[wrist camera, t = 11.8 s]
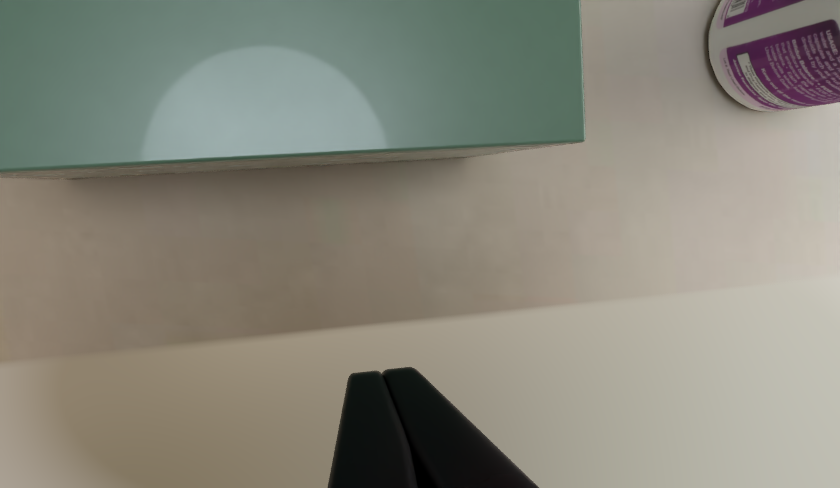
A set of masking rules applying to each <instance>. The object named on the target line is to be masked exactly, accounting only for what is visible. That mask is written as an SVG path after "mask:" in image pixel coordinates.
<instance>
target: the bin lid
mask: <svg viewBox="0 0 840 488" xmlns="http://www.w3.org/2000/svg"><path fill="white" fill-rule="evenodd" d="M585 139H586V136H585V109H584V82H583V56H582V29H581V2H580V0H0V174H2V173H22V172H41V171H60V170H79V169H98V168H117V167H136V166H155V165H175V164H194V163H213V162H232V161H251V160H270V159H289V158H308V157H327V156H347V155H366V154H385V153H404V152H423V151H442V150H461V149H480V148H499V147H519V146H538V145H557V144H573V143H580V142H584V141H585Z"/></svg>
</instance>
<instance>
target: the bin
mask: <svg viewBox="0 0 840 488" xmlns="http://www.w3.org/2000/svg"><path fill="white" fill-rule="evenodd" d="M557 145H565V144H557ZM557 145H538V146H519V147H499V148H480V149H461V150H442V151H423V152H404V153H385V154H366V155H347V156H327V157H308V158H289V159H270V160H251V161H232V162H213V163H194V164H175V165H155V166H136V167H117V168H98V169H79V170H60V171H41V172H22V173H2V174H0V177H1V178H39V179H81V178H99V177H117V176H136V175H154V174H172V173H190V172H209V171H227V170H245V169H263V168H282V167H300V166H318V165H337V164H355V163H373V162H391V161H410V160H428V159H446V158H464V157H474V156H482V155H489V154H497V153H504V152H512V151H519V150H527V149H535V148H542V147H550V146H557Z"/></svg>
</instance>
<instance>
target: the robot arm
mask: <svg viewBox="0 0 840 488" xmlns="http://www.w3.org/2000/svg"><path fill="white" fill-rule="evenodd" d="M328 488H539V487H538V486H537V485H536V484H535V483H533V481H532V480H530V479H529V478H528V477H527V476H526V475H525V474H524V473H523V472H522V471H521V470H520V469H519V468H518V467H517V466H516V465H515V464H514V463H513V462H512V461H511V460H510V459H509V458H508V457H507V456H506V455H504V454H503V453H502V452H501V451H500V450H499V449H498V448H497V447H496V446H495V445H494V444H493V443H492V442H491V441H490V440H489V439H488V438H487V437H486V436H485V435H484V434H483V433H482V432H481V431H480V430H479V429H477V428H476V427H475V426H474V425H473V424H472V423H471V422H470V421H469V420H468V419H467V418H466V417H465V416H464V415H463V414H462V413H461V412H460V411H459V410H458V409H457V408H456V407H455V406H453V404H451V403H450V401H448V400H447V399H446V398H445V397H444V396H443V395H442V394H441V393H440V392H439V391H438V390H437V389H436V388H435V387H434V386H433V385H432V384H431V383H430V382H429V381H428V380H427V379H426V378H425V377H424V376H423V375H421V374H420V373H419V372H418V371H417V370H416V369H414V368H412V367H405V368H397V369H387V370H385V371H384V372H383V373H382V374H381V373H380V372H379V371H370V372H360V373H353V374H351V375H350V376H349V378H348V382H347V388H346V394H345V398H344V404H343V409H342V414H341V420H340V425H339V431H338V436H337V441H336V446H335V452H334V457H333V463H332V468H331V473H330V478H329V483H328Z"/></svg>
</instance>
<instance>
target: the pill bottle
mask: <svg viewBox="0 0 840 488" xmlns="http://www.w3.org/2000/svg"><path fill="white" fill-rule="evenodd" d="M708 43H709V57H710V61H711V65H712V67H713V70H714V73H715V75H716V77H717V79H718V81H719V83H720V84H721V86H722V87H723V88H724V89H725V91H726V92H727V93H728V94H729V95H730V96H731V97H733V98H734V99H735V100H736V101H738V102H739V103H741V104H742V105H744V106H746V107H748V108H750V109H754V110H758V111H765V112H773V111H782V110H791V109H798V108H805V107H810V106H817V105H824V104H831V103H837V102H840V0H721V2H720V4H719V6H718V8H717V10H716V12H715V15H714V18H713V20H712V23H711V27H710V31H709V42H708Z"/></svg>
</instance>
